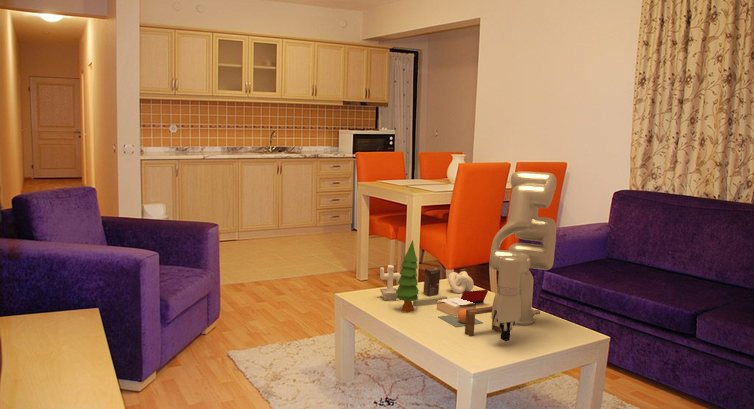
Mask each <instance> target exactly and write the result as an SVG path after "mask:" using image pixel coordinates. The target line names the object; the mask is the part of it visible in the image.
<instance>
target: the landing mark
mask: <svg viewBox="0 0 754 409" xmlns="http://www.w3.org/2000/svg"><path fill="white" fill-rule="evenodd" d="M451 315H452V314H448V315H440V316H437V318H439V319H440V320H442V321H444V322H445V323H448V324H449V325H450V326H452V327H455V328H460V327H465V323H462V322H461V321H460V320H459V319H458V317H457V316H456V317H454V316H451ZM481 324H484V322H483V321H481V320H480V319H477V318H475V325H481Z"/></svg>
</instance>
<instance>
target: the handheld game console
mask: <svg viewBox="0 0 754 409" xmlns="http://www.w3.org/2000/svg"><path fill="white" fill-rule="evenodd" d="M488 292H489V289H478V290H477V289H476V290H471V291H463V292H462V293H461V296H460V298H461V299H463V300H467V301H470V302H473V303H475V304H474V305H478V304H484V302H485V301H484V300H485V298H486V296H488V295H487V294H488Z"/></svg>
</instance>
